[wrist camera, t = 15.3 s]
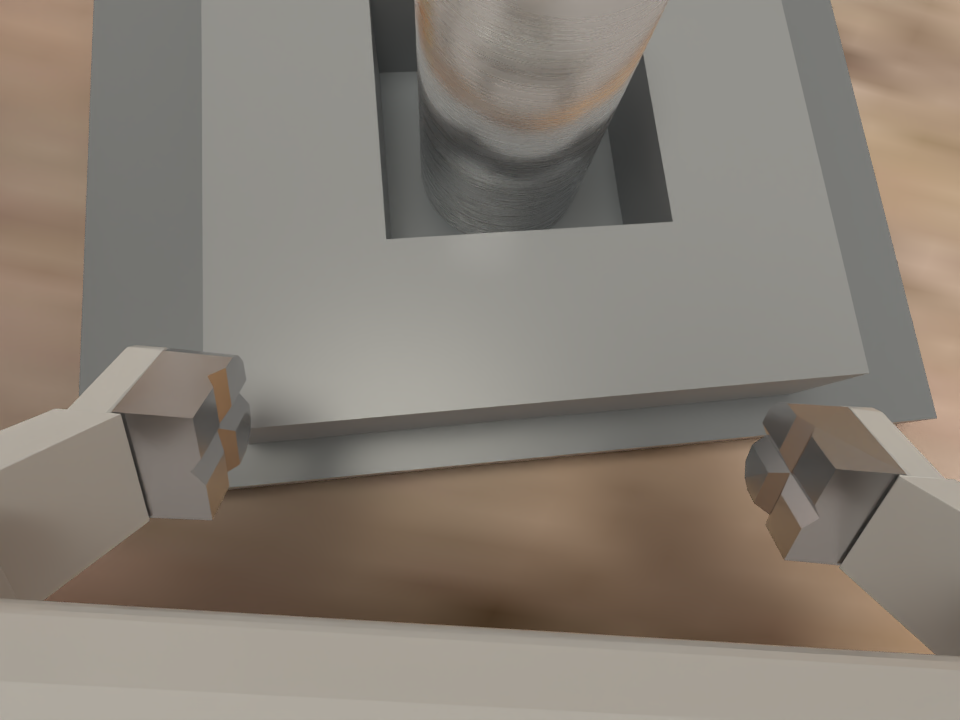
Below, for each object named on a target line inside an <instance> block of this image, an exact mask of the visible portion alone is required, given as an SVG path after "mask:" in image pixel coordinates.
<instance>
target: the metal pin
mask: <svg viewBox="0 0 960 720" xmlns="http://www.w3.org/2000/svg"><path fill="white" fill-rule="evenodd" d="M668 1H669V0H414V2H415V27H416V53H417V79H418V104H419V130H420V155H421V175H422V181H423V185H424V188H425V192H426V194H427V196H428V198H429V200H430V202H431V204H432V205H433V207H434V208H435V210H436V211H437V212H438V213H439V214H440V216H441V217H442V218H443V219H444V220H446V221H447V222H448V223H449V224H450V225H451V226H453V227H454V228H456V229H457V230H459V231H461V232H462V233H464V234H480V233H497V232H513V231H529V230H546V229H549V228H551V227H552V226H553V225H555V224H556V223H557V222H558V221H559V220H560V219H561V218H562V216H563V215H564V214H565V212H566V211H567V210H568V208H569V206H570V204H571V202H572V200H573V198H574V196H575V194H576V192H577V190H578V188H579V186H580V184H581V182H582V180H583V178H584V175H585V173H586V171H587V169H588V167H589V165H590V163H591V161H592V159H593V157H594V155H595V153H596V150H597V148H598V146H599V144H600V142H601V140H602V138H603V136H604V134H605V132H606V130H607V128H608V126H609V123H610V121H611V119H612V117H613V115H614V113H615V111H616V109H617V107H618V105H619V103H620V101H621V98H622V96H623V94H624V92H625V90H626V88H627V86H628V84H629V82H630V80H631V78H632V76H633V74H634V71H635V69H636V67H637V65H638V63H639V61H640V59H641V57H642V55H643V53H644V51H645V49H646V46H647V44H648V42H649V40H650V38H651V36H652V34H653V32H654V30H655V28H656V26H657V24H658V22H659V19H660V17H661V15H662V13H663V11H664V9H665V7H666V5H667V3H668Z"/></svg>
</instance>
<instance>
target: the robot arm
mask: <svg viewBox="0 0 960 720" xmlns="http://www.w3.org/2000/svg"><path fill="white" fill-rule="evenodd" d="M245 382H246V375H245V369H244V362H243V360H242V359H241V358H240V357H239V356H238V355H231V354H222V353H212V352H203V351H193V350H184V349H174V348H170V349H168V348H166V347H153V346H141V345H135V346H130V347H127V348H126V349H125V350H124V351H123V352H122V353H121V354H120V355H119V356H118V357H117V358H116V359H115V360H114V361H113V362H112V363H111V364H110V365H109V366H108V367H107V368H106V369H105V370H104V371H103V372H102V374H101V375H100V376H99V377H98V378H97V379H96V380H95V381H94V382H93V383H92V384H91V385H90V386H89V387H88V388H87V389H86V390H85V391H84V392H83V393H82V394H81V395H80V396H79V397H78V399H77V400H76V401H75V402H74V403H73V404H72V405H71V406H70V407H69V408H68V409H53V410H50V411H48V412H46V413H43V414H41V415H38V416H36V417H33V418H31V419H28V420H26V421H23V422H21V423H18V424H16V425H13V426H11V427H8V428H6V429H3V430H1V431H0V720H960V482H959V481H957V480H954V479H945V478H944V477H943V476H942V475H941V474H940V473H939V472H938V471H937V470H936V469H935V468H934V467H933V465H932V464H931V463H930V462H929V461H928V460H927V459H926V458H925V457H924V456H923V455H922V454H921V453H920V452H919V451H918V449H917V448H916V447H915V446H914V445H913V444H912V443H911V442H910V441H909V440H908V439H907V438H906V437H905V436H904V435H903V434H902V432H901V431H900V430H899V429H898V428H897V427H896V426H895V425H894V424H893V423H892V422H891V421H890V420H889V419H888V418H887V417H886V415H885V414H884V413H883V412H881V411H879V410H876V409H874V408H872V407H853V406H826V405H812V404H797V403H782V402H776V403H775V404H774V405H773V406H772V407H771V408H770V409H769V410H768V412H767V414H766V416H765V418H764V420H763V422H762V423H763V426H764V429H765V431H766V434H767V435H765V436H764V437H762V438H761V439H760V440H758V441H757V442H755V443H754V444H753V445H752V447H751V449H750V452H749V454H748V457H747V459H746V464H745V481H746V485H747V490H748V492H749V494H750V496H751V498H752V500H753V502H754V503H755V504H756V505H757V506H759V507H760V508H761V509H763V510H764V511H765V512H767V513H768V514H769V517H768V519H767V522H766V527H767V529H768V531H769V533H770V534H771V536H772V538H773V540H774V542H775V544H776V546H777V548H778V549H779V551H780V553H781V555H782V557H783V559H784V560H790V561H800V562H811V563H821V564H831V565H841V566H840V567H839V568H840V569H841V570H842V571H843V572H844V573H845V574H846V575H848V576H849V577H850V578H851V579H852V580H853V581H854V582H855V583H857V584H858V585H859V586H860V587H861V588H862V589H863V590H864V591H865V592H867V593H868V594H869V595H870V596H871V597H872V598H873V599H874V600H875V601H877V602H878V603H879V604H880V605H881V606H882V607H883V608H884V609H885V610H887V611H888V612H889V613H890V614H891V615H892V616H893V617H894V618H895V619H897V620H898V621H899V622H900V623H901V624H902V625H903V626H904V627H905V628H907V629H908V630H909V631H910V632H911V633H912V634H913V635H914V636H915V637H917V638H918V639H919V640H920V641H921V642H922V643H923V644H924V645H925V646H927V647H928V648H929V649H930V650H931V651H932V652H933V653H934V654H936V655H930V654H914V653H897V652H880V651H864V650H847V649H831V648H815V647H799V646H782V645H766V644H750V643H734V642H717V641H701V640H685V639H669V638H652V637H636V636H619V635H602V634H586V633H569V632H553V631H536V630H519V629H503V628H486V627H470V626H453V625H436V624H420V623H403V622H387V621H370V620H353V619H337V618H320V617H304V616H287V615H271V614H254V613H238V612H221V611H205V610H188V609H171V608H155V607H138V606H122V605H105V604H89V603H72V602H56V601H43V600H45V599H46V598H47V597H49V596H50V595H51V594H53V593H54V592H55V591H57V590H58V589H59V588H61V587H62V586H63V585H65V584H66V583H67V582H69V581H70V580H71V579H73V578H74V577H75V576H77V575H78V574H79V573H81V572H82V571H83V570H85V569H86V568H87V567H89V566H90V565H91V564H93V563H94V562H95V561H97V560H98V559H99V558H101V557H102V556H103V555H105V554H106V553H107V552H109V551H110V550H111V549H113V548H114V547H115V546H117V545H118V544H119V543H121V542H122V541H123V540H125V539H126V538H127V537H129V536H130V535H131V534H133V533H134V532H135V531H137V530H138V529H139V528H141V527H142V526H143V525H145V524H146V523H147V522H149V521H150V519H149V518H170V519H194V520H213V518H214V516H215V514H216V512H217V510H218V508H219V506H220V504H221V502H222V500H223V498H224V496H225V494H226V492H227V490H228V488H229V480H228V473H227V472H229V471H230V470H232V469H233V468H235V467H237V466H238V465H240V463H241V461H242V459H243V457H244V455H245V452H246V450H247V446H248V441H249V437H250V432H251V413H250V404H249V403H248V402H247V401H246V400H245V399H244V398H243V397H242V396H241V394H240V393H239V392H240V390H241V389H242V387H243V385H244V383H245Z"/></svg>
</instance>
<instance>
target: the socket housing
mask: <svg viewBox="0 0 960 720" xmlns="http://www.w3.org/2000/svg"><path fill="white" fill-rule="evenodd" d="M135 345H141V346H153V347H166V348H168V349H170V348H174V349H184V350H193V351H203V352H212V353H222V354H231V355H238V356H239V357H240V358H241V359H242V360H243V362H244V369H245V375H246V382H245V383H244V385H243V387H242V389H241V390H240V392H239V393H240V394H241V396H242V397H243V398H244V399H245V400H246V401H247V402H248V403H249V404H250V413H251V432H250V437H249V441H248V446H247V450H246V452H245V455H244V457H243V459H242V461H241V463H240V465H238V466H237V467H235V468H233V469H232V470H230V471H229V472H227V473H228V480H229V488H228V490H231V489H241V488H251V487H262V486H272V485H282V484H292V483H302V482H312V481H323V480H333V479H343V478H353V477H363V476H373V475H384V474H394V473H404V472H414V471H424V470H434V469H445V468H455V467H465V466H475V465H485V464H496V463H506V462H516V461H526V460H536V459H546V458H557V457H567V456H577V455H587V454H597V453H607V452H618V451H628V450H638V449H648V448H658V447H668V446H679V445H689V444H699V443H709V442H719V441H729V440H740V439H750V438H760V437H764V436H765V435H767V434H766V431H765V429H764V426H763V423H762V422H763V420H764V418H765V416H766V414H767V412H768V410H769V409H770V408H771V407H772V406H773V405H774V404H775V403H776V402H782V403H797V404H812V405H826V406H853V407H872V408H874V409H876V410H879V411H881V412H883V413H884V414H885V415H886V417H887V418H888V419H889V420H890V421H891V422H892V423H893V424H900V423H907V422H914V421H921V420H928V419H935V418H937V416H936V412H935V408H934V405H933V401H932V397H931V393H930V389H929V385H928V381H927V377H926V373H925V369H924V365H923V361H922V358H921V354H920V350H919V346H918V342H917V338H916V334H915V330H914V326H913V322H912V318H911V315H910V311H909V307H908V303H907V299H906V295H905V291H904V287H903V283H902V279H901V275H900V272H899V268H898V264H897V260H896V256H895V252H894V248H893V244H892V240H891V236H890V232H889V229H888V225H887V221H886V217H885V213H884V209H883V205H882V201H881V197H880V193H879V189H878V186H877V182H876V178H875V174H874V170H873V166H872V162H871V158H870V154H869V150H868V146H867V142H866V139H865V135H864V131H863V127H862V123H861V119H860V115H859V111H858V107H857V103H856V99H855V96H854V92H853V88H852V84H851V80H850V76H849V72H848V68H847V64H846V60H845V56H844V53H843V49H842V45H841V41H840V37H839V33H838V29H837V25H836V21H835V17H834V13H833V10H832V6H831V2H830V0H669V1H668V3H667V5H666V7H665V9H664V11H663V13H662V15H661V17H660V19H659V22H658V24H657V26H656V28H655V30H654V32H653V34H652V36H651V38H650V40H649V42H648V44H647V46H646V49H645V51H644V53H643V55H642V57H641V59H640V61H639V63H638V65H637V67H636V69H635V71H634V74H633V76H632V78H631V80H630V82H629V84H628V86H627V88H626V90H625V92H624V94H623V96H622V98H621V101H620V103H619V105H618V107H617V109H616V111H615V113H614V115H613V117H612V119H611V121H610V123H609V126H608V128H607V130H606V132H605V134H604V136H603V138H602V140H601V142H600V144H599V146H598V148H597V150H596V153H595V155H594V157H593V159H592V161H591V163H590V165H589V167H588V169H587V171H586V173H585V175H584V178H583V180H582V182H581V184H580V186H579V188H578V190H577V192H576V194H575V196H574V198H573V200H572V202H571V204H570V206H569V208H568V210H567V211H566V212H565V214H564V215H563V216H562V218H561V219H560V220H559V221H558V222H557V223H556V224H555V225H553V226H552V227H551V228H549V229H546V230H529V231H513V232H497V233H480V234H464V233H462V232H461V231H459V230H457V229H456V228H454V227H453V226H451V225H450V224H449V223H448V222H447V221H446V220H444V219H443V218H442V217H441V216H440V214H439V213H438V212H437V211H436V210H435V208H434V207H433V205H432V204H431V202H430V200H429V198H428V196H427V194H426V192H425V188H424V185H423V181H422V175H421V155H420V130H419V104H418V79H417V53H416V27H415V2H414V0H94V11H93V37H92V64H91V90H90V117H89V143H88V170H87V196H86V223H85V249H84V275H83V302H82V328H81V355H80V381H79V396H80V395H81V394H82V393H83V392H84V391H85V390H86V389H87V388H88V387H89V386H90V385H91V384H92V383H93V382H94V381H95V380H96V379H97V378H98V377H99V376H100V375H101V374H102V372H103V371H104V370H105V369H106V368H107V367H108V366H109V365H110V364H111V363H112V362H113V361H114V360H115V359H116V358H117V357H118V356H119V355H120V354H121V353H122V352H123V351H124V350H125V349H126V348H127V347H130V346H135Z"/></svg>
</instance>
